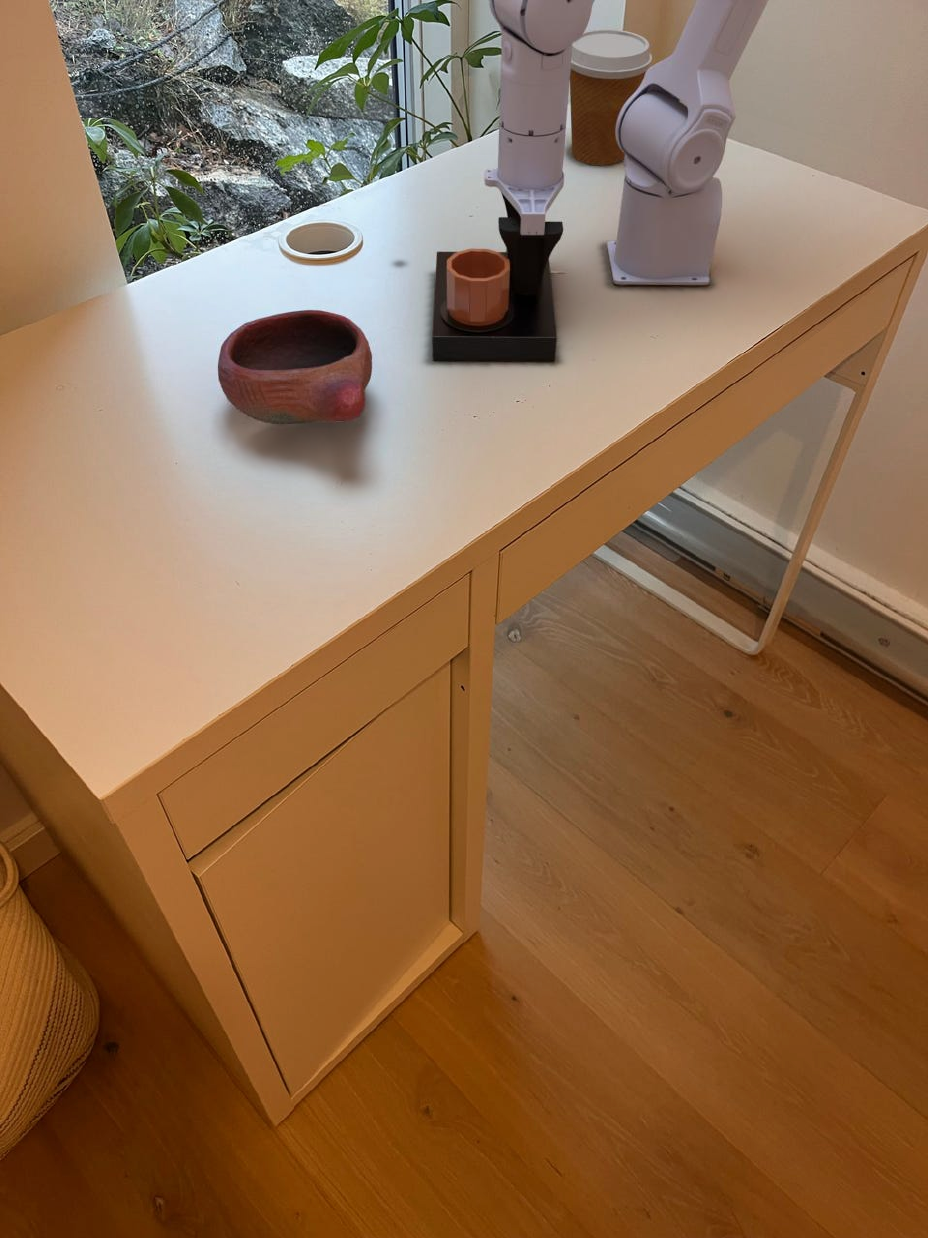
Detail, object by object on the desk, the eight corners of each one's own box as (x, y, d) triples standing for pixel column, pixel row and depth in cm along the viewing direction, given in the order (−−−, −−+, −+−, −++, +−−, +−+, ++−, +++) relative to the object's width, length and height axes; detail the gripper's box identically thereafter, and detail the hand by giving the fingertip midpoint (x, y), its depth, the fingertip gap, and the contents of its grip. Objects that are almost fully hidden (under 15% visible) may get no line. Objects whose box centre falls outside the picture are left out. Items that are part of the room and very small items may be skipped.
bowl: (194, 426, 81) (173, 343, 75) (285, 350, 89) (272, 268, 83) (356, 489, 76) (347, 405, 70) (437, 402, 84) (436, 319, 78)
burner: (513, 292, 91) (514, 290, 91) (515, 333, 86) (515, 331, 86) (441, 292, 91) (441, 290, 91) (439, 332, 86) (439, 330, 86)
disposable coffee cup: (554, 168, 113) (562, 55, 104) (562, 134, 120) (571, 24, 111) (636, 174, 112) (652, 61, 103) (640, 139, 119) (655, 30, 110)
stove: (560, 275, 98) (562, 250, 96) (570, 361, 88) (572, 336, 86) (437, 274, 98) (436, 249, 96) (432, 360, 88) (432, 334, 86)
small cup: (507, 294, 90) (509, 248, 87) (508, 327, 86) (510, 280, 83) (447, 293, 90) (447, 247, 87) (446, 326, 86) (446, 280, 83)
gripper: (484, 88, 87) (481, 233, 98) (487, 159, 78) (483, 311, 88) (562, 88, 87) (551, 233, 98) (575, 160, 78) (561, 312, 88)
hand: (524, 270), depth 93 cm, fingers open, 7 cm apart
